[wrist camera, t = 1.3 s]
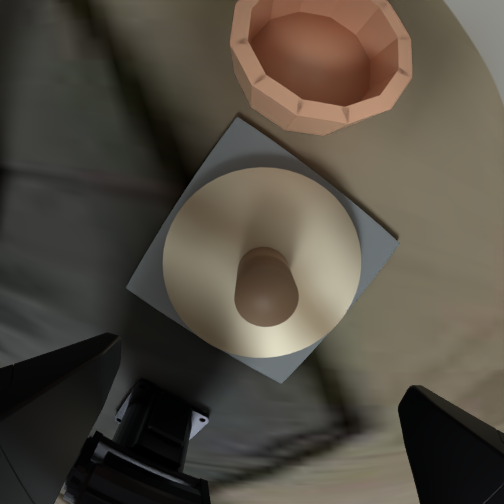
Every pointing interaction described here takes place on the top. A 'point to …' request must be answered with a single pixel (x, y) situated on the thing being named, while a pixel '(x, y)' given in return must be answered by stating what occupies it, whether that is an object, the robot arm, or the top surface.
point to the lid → (262, 262)
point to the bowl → (320, 60)
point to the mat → (242, 157)
